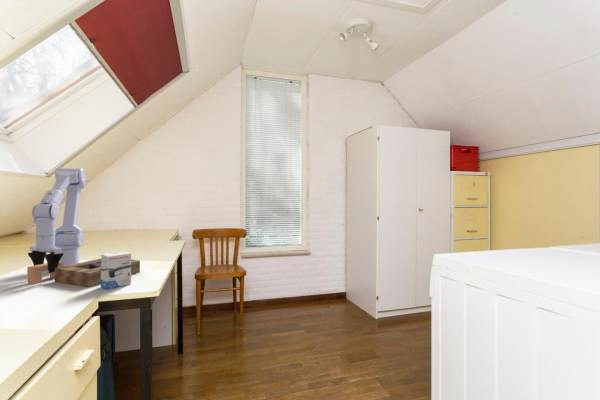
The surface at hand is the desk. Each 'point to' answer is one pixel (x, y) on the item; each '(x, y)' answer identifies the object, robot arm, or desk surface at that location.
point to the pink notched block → (39, 272)
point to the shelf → (86, 273)
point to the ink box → (115, 269)
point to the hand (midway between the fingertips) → (45, 271)
